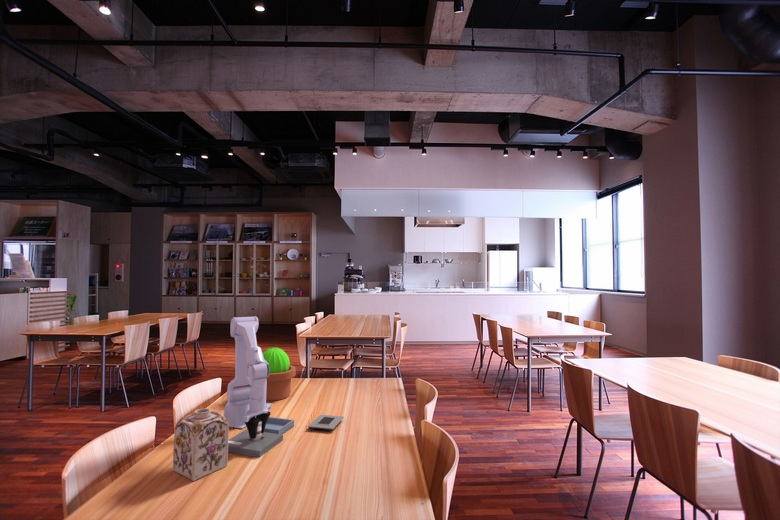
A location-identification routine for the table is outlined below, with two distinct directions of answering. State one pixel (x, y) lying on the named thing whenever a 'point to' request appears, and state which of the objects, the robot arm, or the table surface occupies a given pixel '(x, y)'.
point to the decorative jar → (200, 444)
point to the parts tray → (278, 425)
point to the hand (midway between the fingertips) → (256, 435)
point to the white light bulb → (258, 432)
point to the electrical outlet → (325, 422)
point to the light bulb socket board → (253, 443)
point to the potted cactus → (278, 374)
